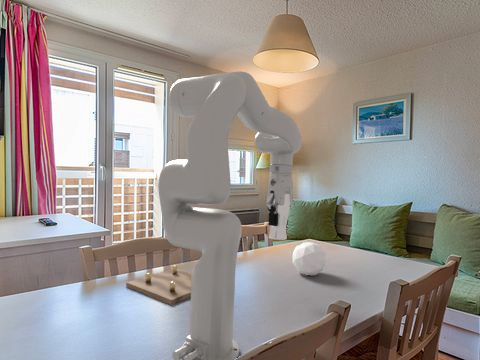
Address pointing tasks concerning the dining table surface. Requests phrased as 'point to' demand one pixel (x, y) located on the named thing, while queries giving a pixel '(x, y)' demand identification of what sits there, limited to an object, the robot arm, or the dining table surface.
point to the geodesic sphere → (308, 258)
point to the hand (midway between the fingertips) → (278, 224)
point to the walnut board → (164, 285)
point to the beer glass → (281, 220)
